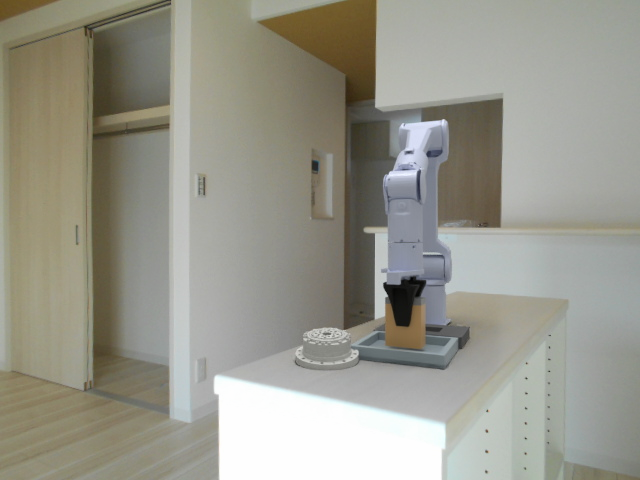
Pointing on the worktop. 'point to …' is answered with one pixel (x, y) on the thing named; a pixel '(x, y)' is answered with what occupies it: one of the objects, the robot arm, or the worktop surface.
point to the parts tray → (408, 351)
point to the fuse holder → (443, 332)
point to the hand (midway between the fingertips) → (405, 324)
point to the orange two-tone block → (406, 335)
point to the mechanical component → (326, 350)
